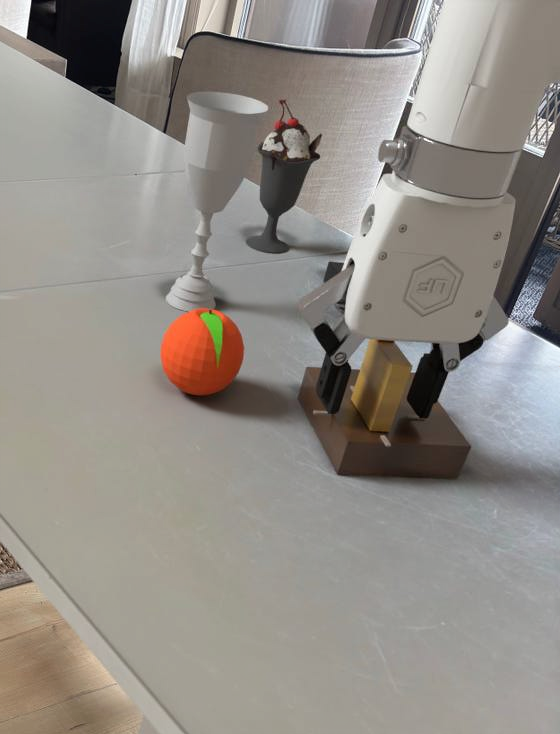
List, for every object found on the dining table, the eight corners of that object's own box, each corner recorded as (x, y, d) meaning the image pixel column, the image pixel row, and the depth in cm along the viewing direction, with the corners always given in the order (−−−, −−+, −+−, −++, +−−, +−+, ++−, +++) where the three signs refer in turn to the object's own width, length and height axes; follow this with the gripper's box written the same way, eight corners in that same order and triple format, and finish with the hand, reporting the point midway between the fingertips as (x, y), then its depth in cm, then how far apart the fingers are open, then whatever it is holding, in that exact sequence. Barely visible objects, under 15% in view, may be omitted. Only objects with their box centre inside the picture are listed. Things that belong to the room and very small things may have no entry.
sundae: (225, 240, 111) (255, 94, 101) (262, 231, 115) (294, 89, 105) (270, 261, 108) (305, 112, 98) (307, 250, 112) (344, 106, 102)
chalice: (216, 288, 100) (255, 94, 88) (235, 317, 95) (279, 116, 83) (147, 286, 99) (178, 89, 87) (163, 315, 94) (197, 110, 82)
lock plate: (406, 403, 86) (418, 370, 83) (460, 483, 76) (475, 448, 74) (279, 397, 84) (288, 363, 82) (319, 478, 75) (330, 442, 73)
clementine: (247, 418, 81) (267, 336, 76) (166, 416, 79) (181, 334, 75) (222, 372, 86) (239, 294, 82) (147, 370, 85) (159, 290, 80)
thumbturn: (389, 432, 75) (414, 363, 71) (369, 431, 75) (393, 362, 71) (369, 400, 79) (391, 332, 75) (350, 399, 78) (371, 331, 75)
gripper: (346, 173, 60) (277, 427, 72) (601, 194, 63) (494, 437, 75) (313, 137, 66) (254, 379, 78) (549, 158, 68) (457, 389, 80)
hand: (372, 405), depth 76 cm, fingers open, 6 cm apart
